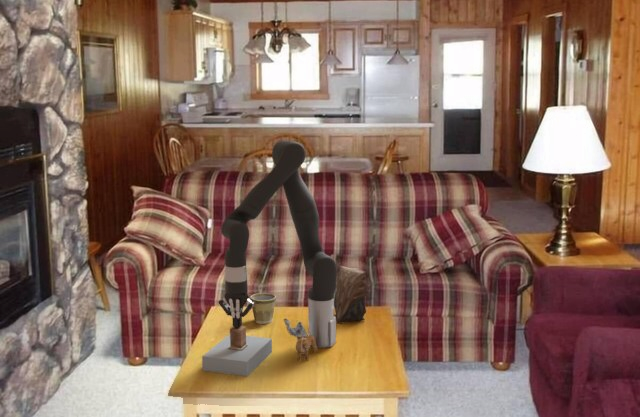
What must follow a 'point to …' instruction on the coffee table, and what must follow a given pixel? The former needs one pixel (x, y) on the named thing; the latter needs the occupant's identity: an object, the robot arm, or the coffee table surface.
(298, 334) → the driftwood
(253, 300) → the ceramic cup
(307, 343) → the lion figurine
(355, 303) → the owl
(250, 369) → the grey rectangular block
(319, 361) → the coffee table surface
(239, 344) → the walnut peg
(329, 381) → the coffee table surface
